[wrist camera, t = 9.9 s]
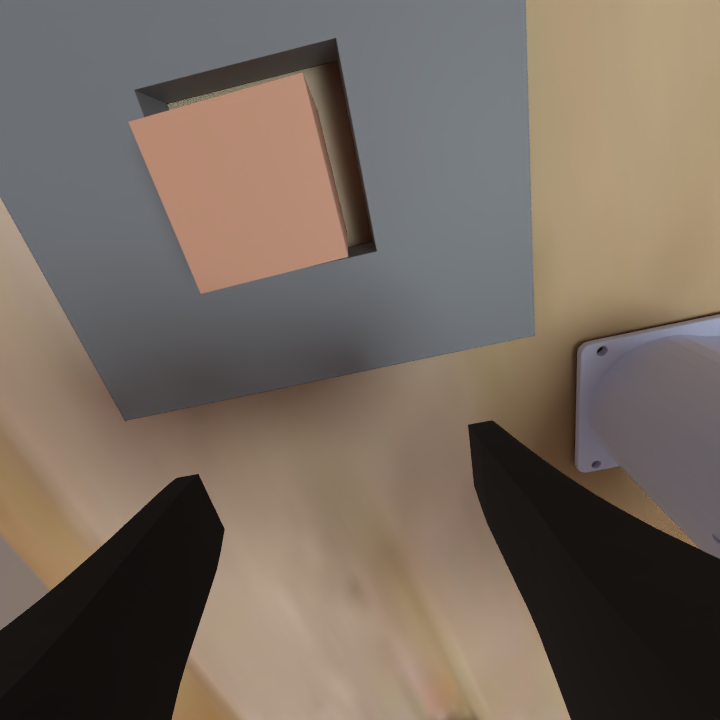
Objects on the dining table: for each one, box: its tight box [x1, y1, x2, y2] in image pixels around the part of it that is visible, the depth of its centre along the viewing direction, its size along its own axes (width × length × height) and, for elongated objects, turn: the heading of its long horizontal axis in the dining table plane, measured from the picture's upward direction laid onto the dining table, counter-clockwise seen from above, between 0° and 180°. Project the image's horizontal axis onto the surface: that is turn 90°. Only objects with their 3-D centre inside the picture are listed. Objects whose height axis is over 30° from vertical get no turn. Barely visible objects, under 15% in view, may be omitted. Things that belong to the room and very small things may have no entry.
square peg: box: [128, 72, 348, 294], centre depth 13 cm, size 4×4×6 cm
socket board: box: [0, 0, 535, 421], centre depth 15 cm, size 18×16×2 cm
